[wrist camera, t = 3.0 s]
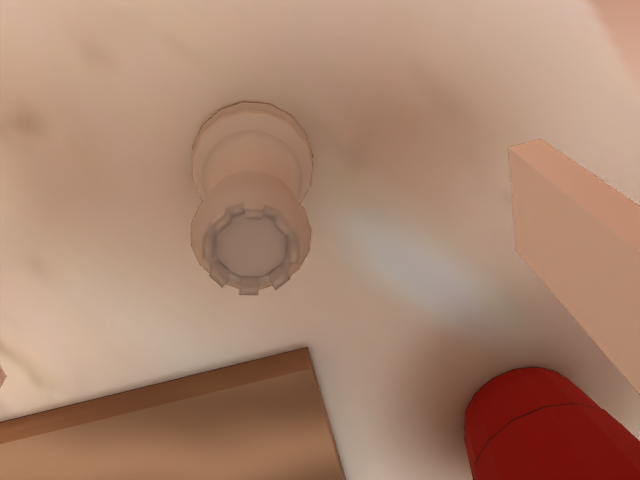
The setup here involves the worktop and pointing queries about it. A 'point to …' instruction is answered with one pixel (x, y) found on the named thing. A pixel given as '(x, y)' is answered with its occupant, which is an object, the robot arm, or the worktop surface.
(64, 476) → the walnut board
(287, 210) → the rook chess piece
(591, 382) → the worktop surface
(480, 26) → the worktop surface
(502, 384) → the plastic cup
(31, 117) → the worktop surface
